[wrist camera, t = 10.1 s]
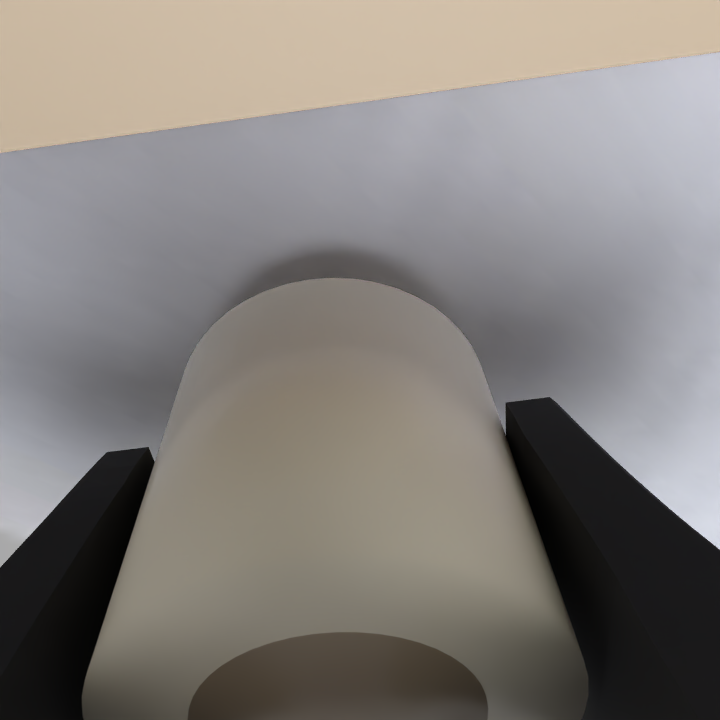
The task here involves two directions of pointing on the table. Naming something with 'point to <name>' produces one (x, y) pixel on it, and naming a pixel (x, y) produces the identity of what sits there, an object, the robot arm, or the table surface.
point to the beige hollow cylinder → (335, 532)
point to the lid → (300, 55)
